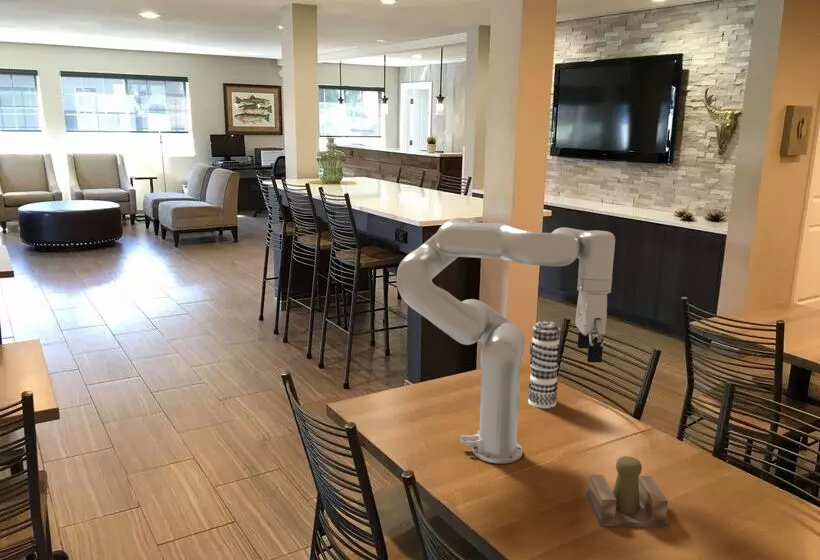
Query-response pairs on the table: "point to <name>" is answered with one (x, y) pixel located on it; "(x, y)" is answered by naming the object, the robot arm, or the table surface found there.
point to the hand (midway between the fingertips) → (589, 354)
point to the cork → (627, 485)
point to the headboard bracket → (607, 515)
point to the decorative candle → (544, 365)
